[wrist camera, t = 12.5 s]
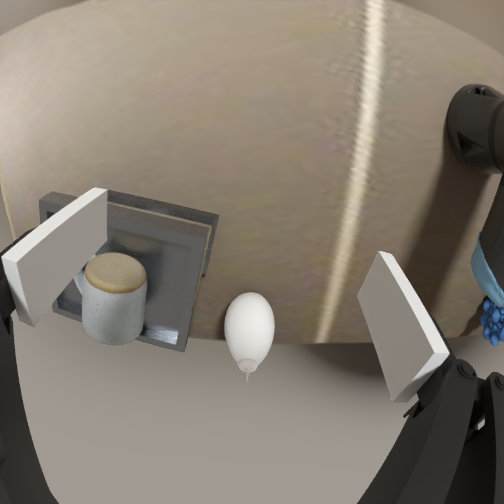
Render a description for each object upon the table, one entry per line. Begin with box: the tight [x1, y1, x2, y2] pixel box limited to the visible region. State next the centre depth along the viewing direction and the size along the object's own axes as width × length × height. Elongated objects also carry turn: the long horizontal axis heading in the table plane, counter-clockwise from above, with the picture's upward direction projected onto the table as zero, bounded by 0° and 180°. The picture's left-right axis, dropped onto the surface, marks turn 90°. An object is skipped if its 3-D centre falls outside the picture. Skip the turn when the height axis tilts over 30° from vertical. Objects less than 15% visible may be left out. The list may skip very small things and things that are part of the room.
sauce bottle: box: [224, 292, 275, 383], centre depth 44 cm, size 8×8×18 cm
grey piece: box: [39, 187, 219, 352], centre depth 39 cm, size 21×17×15 cm
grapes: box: [480, 299, 504, 346], centre depth 47 cm, size 12×7×12 cm, turn 165°
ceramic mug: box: [74, 252, 147, 345], centre depth 30 cm, size 11×8×8 cm
